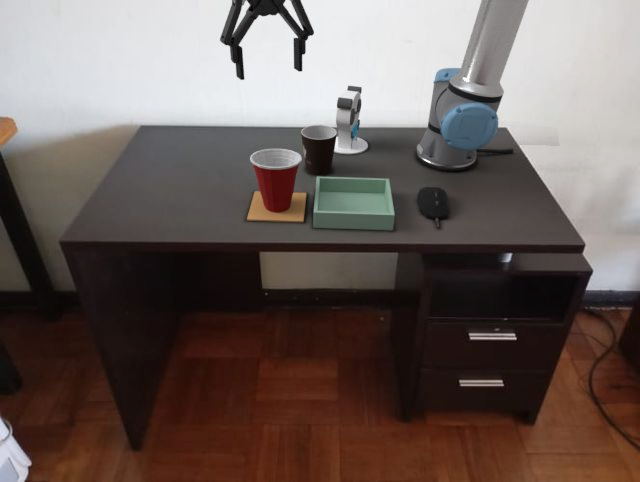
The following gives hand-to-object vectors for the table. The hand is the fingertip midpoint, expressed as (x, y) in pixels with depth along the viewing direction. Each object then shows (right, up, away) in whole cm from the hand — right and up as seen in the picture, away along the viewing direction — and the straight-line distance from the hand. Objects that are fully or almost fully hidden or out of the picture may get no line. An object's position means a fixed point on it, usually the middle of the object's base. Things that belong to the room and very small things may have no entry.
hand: (270, 74), depth 109 cm
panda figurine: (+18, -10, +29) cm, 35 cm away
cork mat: (+2, -29, +2) cm, 29 cm away
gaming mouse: (+36, -30, +2) cm, 47 cm away
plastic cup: (+2, -29, +2) cm, 29 cm away
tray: (+18, -29, +2) cm, 35 cm away
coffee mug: (+11, -18, +18) cm, 28 cm away
